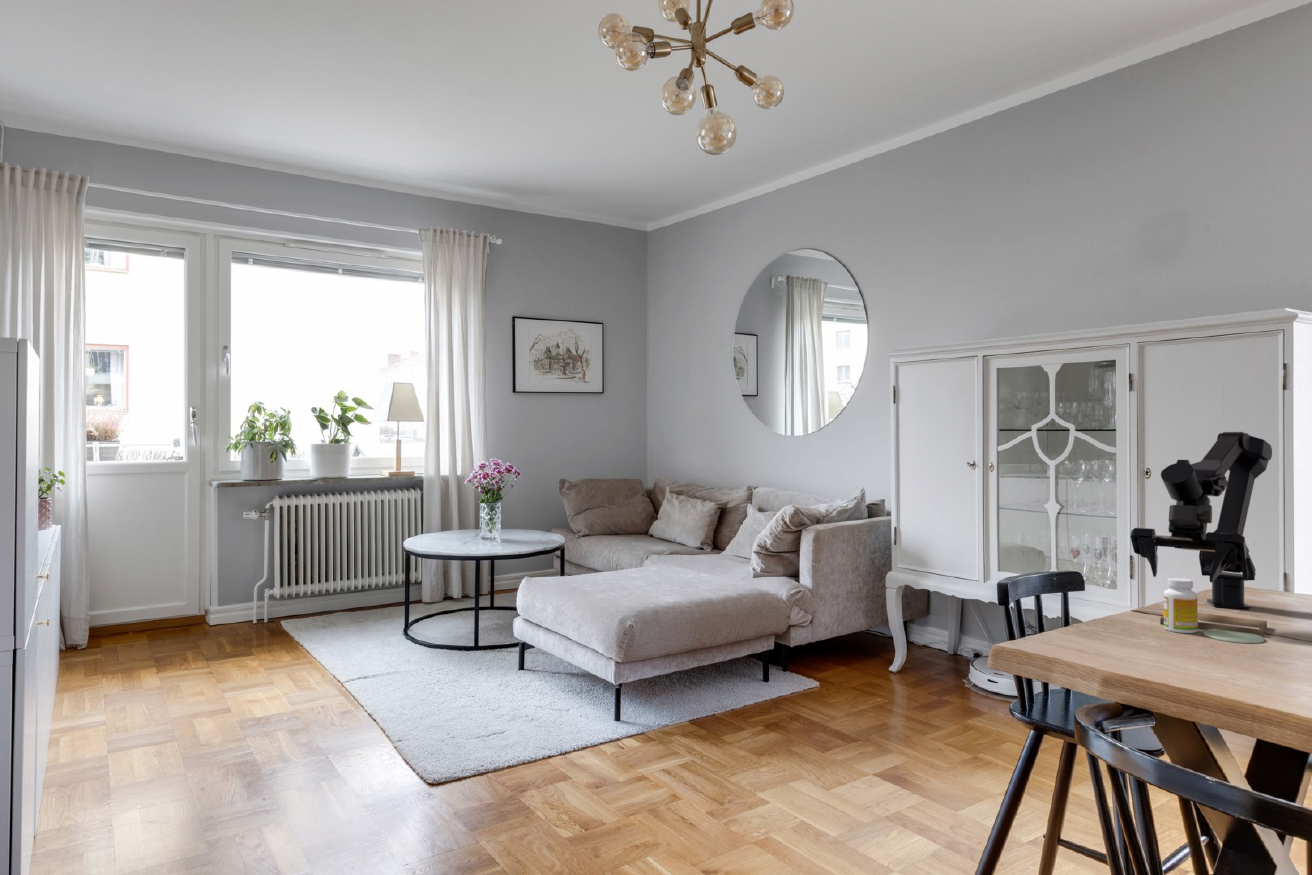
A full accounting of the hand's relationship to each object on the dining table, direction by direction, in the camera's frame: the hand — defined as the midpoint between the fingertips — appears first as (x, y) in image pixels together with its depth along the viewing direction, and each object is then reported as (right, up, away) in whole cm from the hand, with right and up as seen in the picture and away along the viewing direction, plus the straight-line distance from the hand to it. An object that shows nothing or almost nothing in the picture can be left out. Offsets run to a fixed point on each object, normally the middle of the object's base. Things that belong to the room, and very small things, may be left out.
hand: (1182, 578), depth 154 cm
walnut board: (+7, -10, +2) cm, 12 cm away
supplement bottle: (-1, -10, -2) cm, 10 cm away
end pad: (+5, -10, -7) cm, 13 cm away
